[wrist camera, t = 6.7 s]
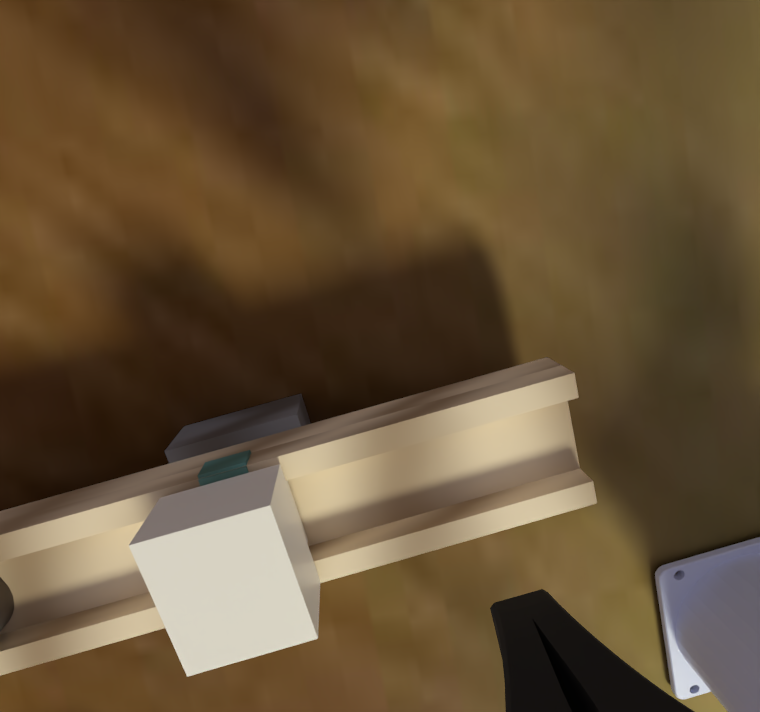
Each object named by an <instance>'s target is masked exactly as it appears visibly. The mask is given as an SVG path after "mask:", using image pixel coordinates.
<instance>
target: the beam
mask: <svg viewBox="0 0 760 712" xmlns="http://www.w3.org/2000/svg"><path fill="white" fill-rule="evenodd" d="M576 398H579V396H578V390H577V385H576V379H575V373H574V372H572V371H570V370H569V369H567V368H565V367H564V366H562V365H560V364H558V363H557V362H555V361H553V360H551V359H550V358H548V357H546V358H543V359H539V360H536V361H532V362H529V363H525V364H521V365H518V366H514V367H511V368H507V369H504V370H500V371H497V372H493V373H489V374H486V375H482V376H479V377H475V378H472V379H468V380H465V381H461V382H457V383H454V384H450V385H447V386H443V387H440V388H436V389H433V390H429V391H425V392H422V393H418V394H415V395H411V396H408V397H404V398H401V399H397V400H393V401H390V402H386V403H383V404H379V405H376V406H372V407H369V408H365V409H361V410H358V411H354V412H351V413H347V414H344V415H340V416H337V417H333V418H329V419H326V420H322V421H319V422H315V423H312V424H311V422H310V419H309V416H308V413H307V410H306V407H305V403H304V400H303V397H302V394H297V395H294V396H290V397H287V398H283V399H280V400H276V401H272V402H269V403H265V404H262V405H258V406H255V407H251V408H247V409H244V410H240V411H237V412H233V413H229V414H226V415H222V416H219V417H215V418H212V419H208V420H204V421H201V422H197V423H194V424H190V425H187V426H184V427H183V428H182V429H181V431H180V432H179V433H178V434H177V436H176V437H175V438H174V440H173V441H172V442H171V443H170V445H169V446H168V447H167V449H166V450H165V451H164V452H165V455H166V457H167V460H168V462H169V464H166V465H162V466H159V467H155V468H152V469H148V470H145V471H141V472H137V473H134V474H130V475H127V476H123V477H120V478H116V479H113V480H109V481H105V482H102V483H98V484H95V485H91V486H88V487H84V488H81V489H77V490H73V491H70V492H66V493H63V494H59V495H56V496H52V497H49V498H45V499H41V500H38V501H34V502H31V503H27V504H24V505H20V506H17V507H13V508H10V509H6V510H2V511H0V675H4V674H7V673H11V672H14V671H18V670H21V669H24V668H28V667H31V666H35V665H38V664H42V663H45V662H49V661H52V660H56V659H59V658H63V657H66V656H70V655H73V654H76V653H80V652H83V651H87V650H90V649H94V648H97V647H101V646H104V645H108V644H111V643H115V642H118V641H122V640H125V639H128V638H132V637H135V636H139V635H142V634H146V633H149V632H153V631H156V630H160V629H163V628H165V626H164V624H163V621H162V619H161V617H160V615H159V612H158V610H157V608H156V606H155V603H154V601H153V599H152V597H151V595H150V592H149V590H148V588H147V586H146V583H145V581H144V579H143V577H142V574H141V572H140V570H139V568H138V566H137V563H136V561H135V559H134V557H133V554H132V552H131V550H130V548H129V544H130V543H131V541H132V540H133V538H134V536H135V535H136V533H137V532H138V530H139V529H140V527H141V526H142V524H143V523H144V521H145V520H146V518H147V517H148V515H149V514H150V512H151V511H152V509H153V508H154V506H155V505H156V503H157V502H158V500H159V499H160V498H161V497H164V496H168V495H171V494H175V493H178V492H182V491H186V490H189V489H193V488H196V487H200V486H203V485H207V484H210V483H214V482H217V481H221V480H224V479H228V478H232V477H235V476H239V475H242V474H246V473H249V472H253V471H256V470H260V469H263V468H267V467H270V466H274V465H277V464H280V465H281V468H282V471H283V474H284V477H285V480H286V481H287V480H288V483H289V486H290V489H291V492H292V495H293V498H294V501H295V504H296V507H297V510H298V512H299V515H300V518H301V521H302V524H303V527H304V530H305V533H306V536H307V539H308V547H309V549H310V552H311V555H312V558H313V561H314V564H315V567H316V570H317V573H318V576H319V578H320V583H323V582H326V581H329V580H333V579H336V578H340V577H343V576H347V575H350V574H354V573H357V572H361V571H364V570H368V569H371V568H375V567H378V566H381V565H385V564H388V563H392V562H395V561H399V560H402V559H406V558H409V557H413V556H416V555H420V554H423V553H426V552H430V551H433V550H437V549H440V548H444V547H447V546H451V545H454V544H458V543H461V542H465V541H468V540H472V539H475V538H478V537H482V536H485V535H489V534H492V533H496V532H499V531H503V530H506V529H510V528H513V527H517V526H520V525H524V524H527V523H530V522H534V521H537V520H541V519H544V518H548V517H551V516H555V515H558V514H562V513H565V512H569V511H572V510H576V509H579V508H582V507H586V506H589V505H593V504H596V503H597V500H596V494H595V489H594V483H593V480H591V479H590V478H589V477H588V476H587V475H586V474H585V473H584V472H583V471H582V470H581V469H580V466H579V461H578V455H577V450H576V444H575V439H574V433H573V427H572V422H571V416H570V411H569V405H568V401H569V400H572V399H576Z"/></svg>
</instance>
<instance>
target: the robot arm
mask: <svg viewBox="0 0 760 712" xmlns="http://www.w3.org/2000/svg"><path fill="white" fill-rule="evenodd" d="M677 571H679V572H678V573H677V574H675V573H676V572H677ZM674 574H675V575H674ZM655 580H656V587H657V594H658V601H659V608H660V614H661V621H662V628H663V635H664V642H665V649H666V655H667V662H668V669H669V676H670V683H671V689H672V691H673V693H674V694H675V696H676V697H677V698H679V699H688V698H691V697H694V696H698V695H701V694H704V693H708V692H712V693H713V694H714V695H715V697H716V698H717V699H718V700H719V701H720V703H721V704H722V705H723V706H724V707H725V709H726V710H727V711H728V712H760V537H757V538H754V539H750V540H747V541H744V542H740V543H737V544H733V545H730V546H727V547H723V548H720V549H716V550H713V551H709V552H706V553H703V554H699V555H696V556H692V557H689V558H685V559H682V560H679V561H675V562H672V563H668V564H665V565H662V566H660V567H659V568H658V569H657V570H656V572H655ZM490 609H491V613H492V617H493V622H494V626H495V630H496V634H497V638H498V642H499V647H500V651H501V655H502V659H503V668H504V678H505V700H506V712H694V711H692V710H691V709H689V708H688V707H686V706H685V705H683V704H682V703H680V702H679V701H677V700H676V699H674V698H673V697H671V696H670V695H668V694H667V693H666V692H664V691H663V690H661V689H660V688H658V687H657V686H656V685H654V684H653V683H652V682H650V681H649V680H648V679H646V678H645V677H644V676H642V675H641V674H640V673H638V672H637V671H636V670H634V669H633V668H632V667H630V666H629V665H628V664H627V663H625V662H624V661H623V660H622V659H620V658H619V657H618V656H617V655H615V654H614V653H613V652H612V651H611V650H609V649H608V648H607V647H606V646H605V645H603V644H602V643H601V642H600V641H599V640H598V639H596V638H595V637H594V636H593V635H592V634H591V633H589V632H588V631H587V630H586V629H585V628H584V627H583V626H582V625H581V624H579V623H578V622H577V621H576V620H575V619H574V618H573V617H572V616H571V615H570V614H569V613H568V612H567V611H566V610H565V609H564V608H562V607H561V606H560V605H559V604H558V603H557V602H556V601H555V599H554V598H553V597H552V596H551V595H550V594H549V593H548V592H546V591H545V590H543V589H542V590H538V591H535V592H531V593H527V594H524V595H520V596H517V597H513V598H510V599H506V600H503V601H499V602H496V603H494V604H493V605H492V606H491V608H490Z"/></svg>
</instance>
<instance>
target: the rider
mask: <svg viewBox="0 0 760 712" xmlns="http://www.w3.org/2000/svg"><path fill="white" fill-rule="evenodd" d="M129 548H130V550H131V552H132V554H133V557H134V559H135V561H136V563H137V566H138V568H139V570H140V572H141V574H142V577H143V579H144V581H145V583H146V586H147V588H148V590H149V592H150V595H151V597H152V599H153V601H154V603H155V606H156V608H157V610H158V612H159V615H160V617H161V619H162V621H163V624H164V626H165V628H166V630H167V632H168V635H169V637H170V639H171V641H172V644H173V646H174V648H175V650H176V652H177V655H178V657H179V659H180V661H181V664H182V666H183V668H184V670H185V673H186V675H187V677H188V676H191V675H195V674H198V673H201V672H205V671H208V670H212V669H215V668H219V667H222V666H225V665H229V664H232V663H236V662H239V661H243V660H246V659H250V658H253V657H256V656H260V655H263V654H267V653H270V652H274V651H277V650H280V649H284V648H287V647H291V646H294V645H298V644H301V643H305V642H308V641H311V640H315V639H318V626H319V601H320V578H319V576H318V573H317V570H316V567H315V564H314V561H313V558H312V555H311V552H310V549H309V547H308V539H307V536H306V533H305V530H304V527H303V524H302V521H301V518H300V515H299V512H298V510H297V507H296V504H295V501H294V498H293V495H292V492H291V489H290V486H289V483H288V480H287V481H286V480H285V477H284V474H283V471H282V468H281V465H280V464H277V465H274V466H270V467H267V468H263V469H260V470H256V471H253V472H249V473H246V474H242V475H239V476H235V477H232V478H228V479H224V480H221V481H217V482H214V483H210V484H207V485H203V486H200V487H196V488H193V489H189V490H186V491H182V492H178V493H175V494H171V495H168V496H164V497H161V498H160V499H159V500H158V502H157V503H156V505H155V506H154V508H153V509H152V511H151V512H150V514H149V515H148V517H147V518H146V520H145V521H144V523H143V524H142V526H141V527H140V529H139V530H138V532H137V533H136V535H135V536H134V538H133V540H132V541H131V543H130V544H129Z"/></svg>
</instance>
